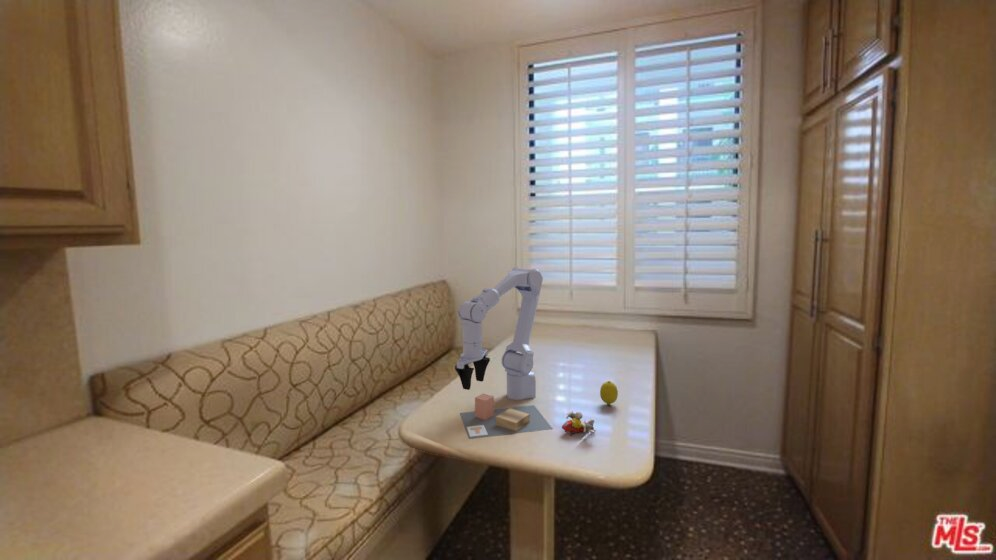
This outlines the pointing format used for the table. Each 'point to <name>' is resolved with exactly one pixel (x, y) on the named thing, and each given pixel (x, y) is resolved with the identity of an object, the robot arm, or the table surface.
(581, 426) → the toy airplane
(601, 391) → the lemon
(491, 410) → the pillar
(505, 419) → the slab
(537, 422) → the board
